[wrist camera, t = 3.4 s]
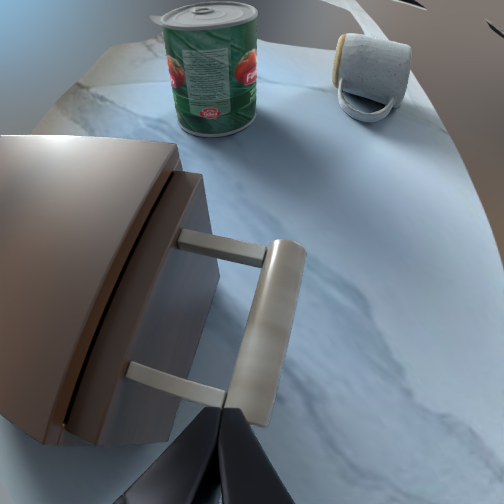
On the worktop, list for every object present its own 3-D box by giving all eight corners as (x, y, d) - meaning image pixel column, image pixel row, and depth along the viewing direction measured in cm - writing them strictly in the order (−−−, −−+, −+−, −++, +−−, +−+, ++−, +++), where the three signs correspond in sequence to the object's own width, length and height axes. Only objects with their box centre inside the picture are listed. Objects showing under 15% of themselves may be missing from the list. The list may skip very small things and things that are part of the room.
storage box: (206, 270, 21) (177, 143, 12) (149, 443, 15) (43, 445, 6) (53, 231, 23) (-12, 135, 14) (-6, 360, 17) (-110, 299, 8)
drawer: (292, 292, 19) (318, 195, 12) (249, 465, 14) (248, 500, 7) (64, 236, 22) (7, 152, 14) (7, 362, 16) (-84, 311, 9)
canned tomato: (271, 123, 29) (276, 16, 20) (192, 148, 27) (175, 34, 18) (235, 87, 33) (232, -3, 23) (167, 107, 31) (151, 13, 22)
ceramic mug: (336, 72, 35) (344, 19, 29) (397, 90, 34) (412, 39, 27) (321, 114, 30) (331, 48, 24) (397, 137, 29) (420, 75, 22)
